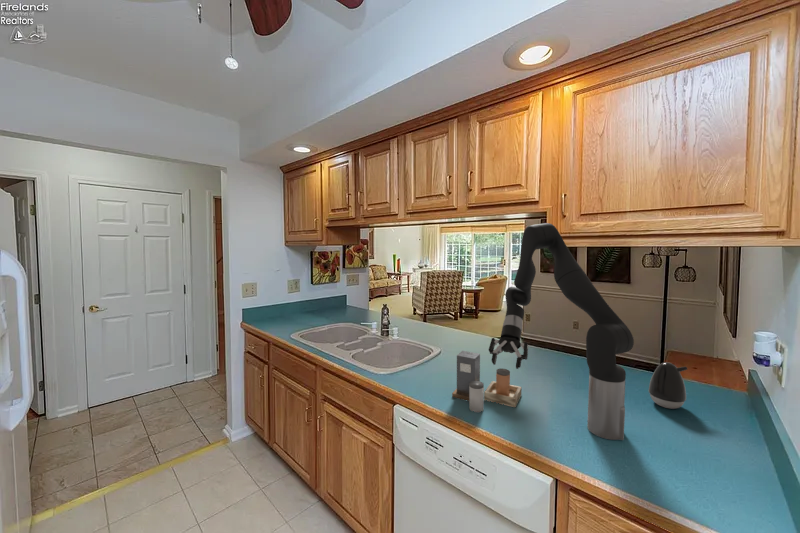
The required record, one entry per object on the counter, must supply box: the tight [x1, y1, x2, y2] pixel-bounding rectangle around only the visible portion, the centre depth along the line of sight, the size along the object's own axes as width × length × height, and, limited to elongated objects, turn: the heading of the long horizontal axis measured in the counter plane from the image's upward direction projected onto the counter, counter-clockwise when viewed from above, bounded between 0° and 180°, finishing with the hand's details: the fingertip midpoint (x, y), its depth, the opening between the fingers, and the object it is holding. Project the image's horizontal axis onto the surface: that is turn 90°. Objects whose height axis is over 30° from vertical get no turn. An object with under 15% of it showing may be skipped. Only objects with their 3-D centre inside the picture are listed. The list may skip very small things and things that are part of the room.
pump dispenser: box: [648, 361, 688, 410], centre depth 115 cm, size 10×10×15 cm
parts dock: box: [484, 380, 522, 408], centre depth 122 cm, size 11×11×3 cm
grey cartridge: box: [468, 380, 485, 413], centre depth 114 cm, size 5×5×9 cm
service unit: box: [451, 350, 481, 402], centre depth 124 cm, size 9×10×16 cm
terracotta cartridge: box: [495, 368, 511, 396], centre depth 122 cm, size 5×5×9 cm
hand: (505, 365), depth 125 cm, fingers open, 8 cm apart
